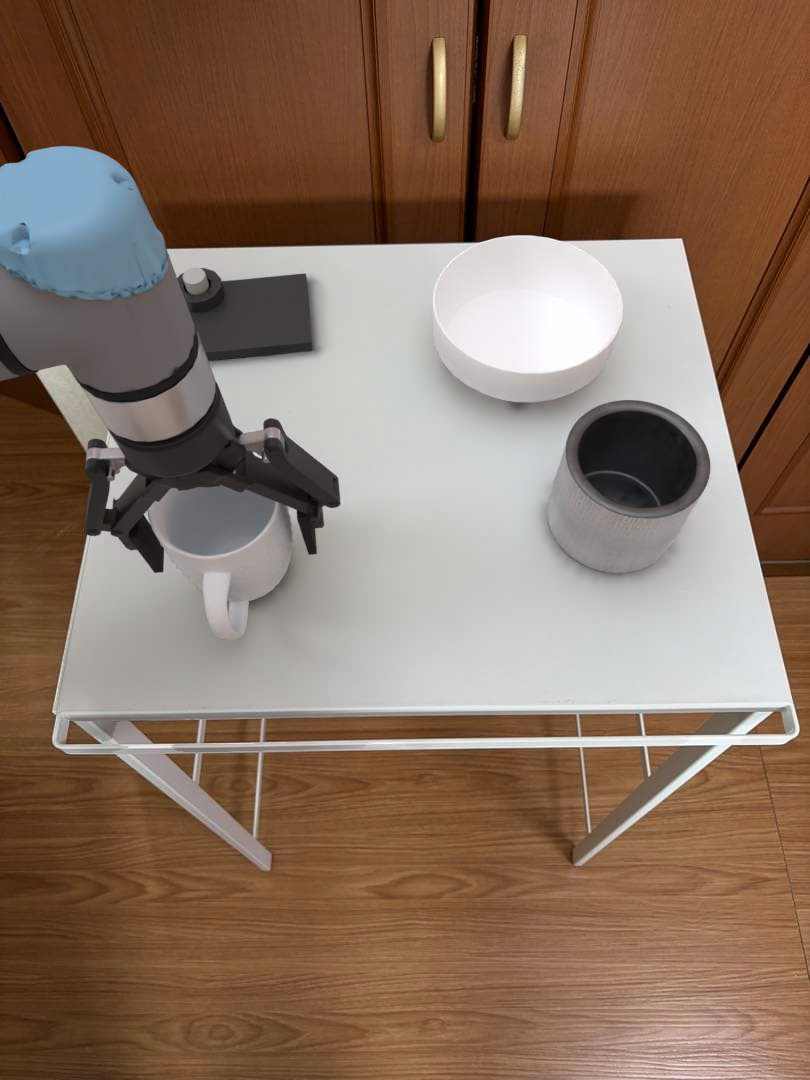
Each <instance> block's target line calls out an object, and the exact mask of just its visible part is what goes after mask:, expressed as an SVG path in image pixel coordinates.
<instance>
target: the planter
mask: <svg viewBox="0 0 810 1080" xmlns="http://www.w3.org/2000/svg"><path fill="white" fill-rule="evenodd" d="M708 450H709V449H708V447H707V445H706V443H705V441H704V439H703V438H702V436H701V434H700V433H699V432H698V430H696V428H695V427H694V426H693V425H692V424H691V423H690V422H688V420H686V418H684V417H682V416H681V415H679V414H678V413H677V412H675V411H673V410H671V409H669V408H667V407H664V406H662V405H660V404H657V403H654V402H649V401H645V400H636V399H620V400H613V401H609V402H605V403H602V404H599V405H597V406H595V407H592V408H591V409H589V410H588V411H587V412H585V413H584V414H582V415H581V416H580V417H579V418H578V419H577V420H576V422H575V423H574V424H573V426H572V427H571V429H570V431H569V433H568V436H567V438H566V440H565V444H564V449H563V451H562V455H561V458H560V461H559V464H558V468H557V470H556V474H555V476H554V480H553V483H552V486H551V489H550V491H549V495H548V500H547V513H546V514H547V515H546V516H547V522H548V525H549V528H550V531H551V534H552V536H553V538H554V540H556V542H557V544H558V545H559V546H560V547H561V549H562V550H563V551H564V552H565V553H566V554H567V555H569V556H570V557H571V558H572V559H574V560H575V561H577V562H578V563H580V564H581V565H584V566H586V567H589V568H590V569H594V570H597V571H600V572H604V573H605V572H606V573H612V574H613V573H614V574H624V573H625V574H626V573H632V572H637V571H640V570H643V569H645V568H647V567H650V566H651V565H653V564H655V563H656V562H658V560H660V559H661V558H662V557H663V556H664V555H665V554H666V553H667V552H668V550H669V549H670V548H671V546H672V544H673V543H674V542H675V540H676V538H677V537H678V535H679V533H680V531H681V529H682V528H683V526H684V525H685V523H686V521H687V519H688V518H689V516H690V515H691V512H693V510H694V508H695V506H696V504H697V503H698V501H699V499H700V498H701V497H702V495H703V493H704V492H705V490H706V488H707V486H708V483H709V480H710V475H711V457H710V454H709V451H708Z"/></svg>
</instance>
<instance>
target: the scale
mask: <svg viewBox="0 0 810 1080" xmlns="http://www.w3.org/2000/svg"><path fill="white" fill-rule="evenodd" d="M199 268H200V269H202V270H203V271H204V272H205V274H206V277H207V280H208V283H209V288H208V290H207V291H206V292H204V293H202V294H198V295H193V294H190V293H189V292H188V291H187V289H186V286H185V283H184V280H183V274H184V273H185V271H184V272H182V273H181V274H179V275H178V276H177V279H178V282H179V285H180V287H181V290H182V293H183V296H184V298H185V301H186V304H187V307H188V309H189V312H190V315H191V318H192V320H193V323H194V325H195V328H196V331H197V332H198V335H199V337H200V340H201V343H202V345H203V348H204V351H205V353H206V356H207V359H208V361H209V362H211V361H220V360H232V359H243V358H253V357H260V356H269V355H270V356H272V355H279V354H280V355H281V354H290V353H302V352H310V351H311V352H312V351H313V350H314V349H313V339H312V338H313V337H312V323H311V313H310V312H311V311H310V301H309V299H310V298H309V285H308V278H307V273H304V272H303V273H295V274H285V275H283V274H282V275H274V276H273V275H272V276H264V277H254V278H253V277H252V278H242V279H232V280H222V277H220V275H219V274H218V273H217V272H216V271H214V270H212V269H209V268H206V267H199Z"/></svg>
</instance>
